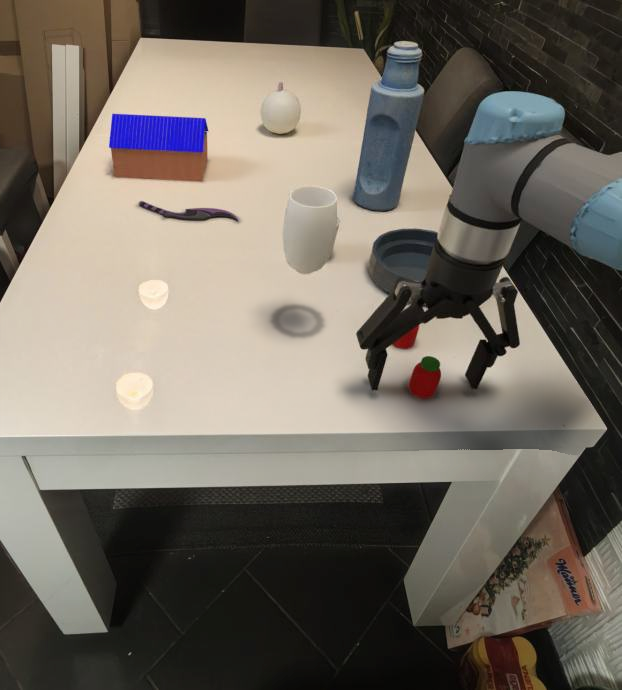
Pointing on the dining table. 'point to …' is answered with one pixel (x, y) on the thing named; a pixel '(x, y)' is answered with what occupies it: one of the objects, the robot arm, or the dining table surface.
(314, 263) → the cup
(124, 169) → the house
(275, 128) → the ornament
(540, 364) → the dining table surface
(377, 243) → the bowl
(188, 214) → the knife
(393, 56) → the bottle
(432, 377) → the strawberry
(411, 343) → the strawberry
